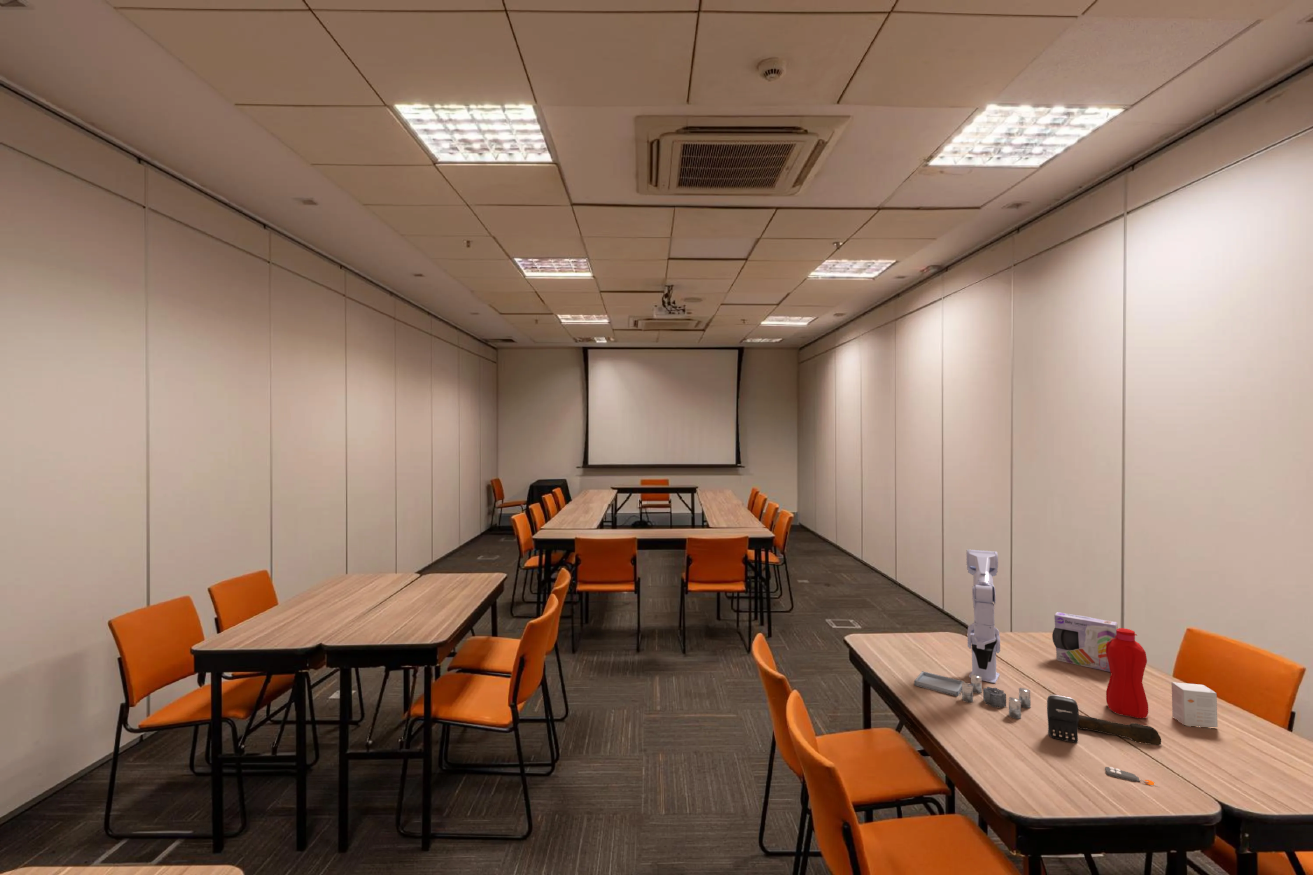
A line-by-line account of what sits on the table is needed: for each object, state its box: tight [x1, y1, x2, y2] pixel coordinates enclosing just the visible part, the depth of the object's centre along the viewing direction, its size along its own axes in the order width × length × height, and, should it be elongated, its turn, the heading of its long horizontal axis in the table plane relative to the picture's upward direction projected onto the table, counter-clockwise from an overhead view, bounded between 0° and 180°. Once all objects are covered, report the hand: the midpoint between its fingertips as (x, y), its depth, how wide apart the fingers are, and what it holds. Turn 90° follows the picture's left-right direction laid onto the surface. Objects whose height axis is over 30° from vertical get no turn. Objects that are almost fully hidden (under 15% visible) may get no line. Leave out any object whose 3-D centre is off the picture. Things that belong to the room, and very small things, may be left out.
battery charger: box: [1046, 694, 1080, 743], centre depth 150 cm, size 7×4×11 cm, turn 61°
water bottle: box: [1099, 627, 1149, 720], centre depth 166 cm, size 9×11×25 cm
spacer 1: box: [961, 682, 974, 703], centre depth 173 cm, size 3×3×5 cm
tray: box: [913, 670, 965, 697], centre depth 184 cm, size 10×13×2 cm
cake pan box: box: [1051, 611, 1119, 673], centre depth 200 cm, size 19×5×18 cm, turn 42°
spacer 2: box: [970, 674, 983, 694], centre depth 179 cm, size 3×3×5 cm
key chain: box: [1104, 766, 1155, 786], centre depth 132 cm, size 13×4×2 cm, turn 56°
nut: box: [982, 686, 1007, 709], centre depth 171 cm, size 6×6×4 cm
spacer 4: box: [1018, 687, 1032, 709], centre depth 169 cm, size 3×3×5 cm
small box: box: [1171, 681, 1219, 728], centre depth 158 cm, size 8×6×10 cm
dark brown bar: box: [1078, 714, 1162, 746], centre depth 152 cm, size 19×4×5 cm, turn 55°
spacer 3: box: [1008, 697, 1022, 720], centre depth 163 cm, size 3×3×5 cm
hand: (984, 664), depth 175 cm, fingers open, 7 cm apart
